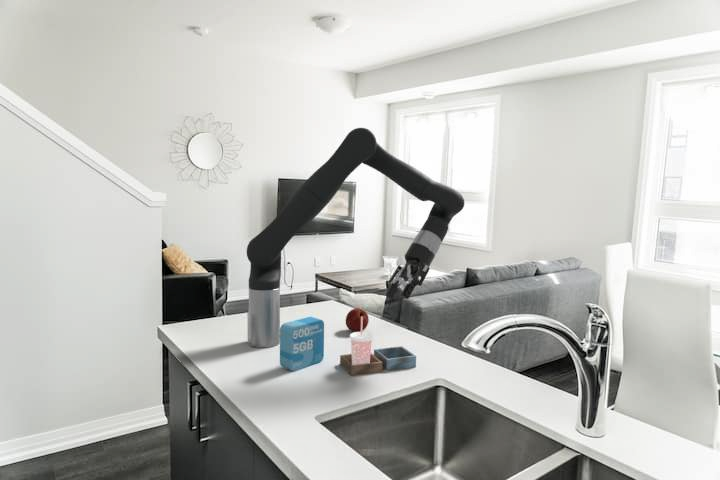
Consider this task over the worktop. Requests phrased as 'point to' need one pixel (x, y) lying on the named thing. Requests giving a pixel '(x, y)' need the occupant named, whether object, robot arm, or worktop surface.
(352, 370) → the cup dock
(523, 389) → the worktop surface
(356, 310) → the apple
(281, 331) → the data package
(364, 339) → the beverage cup
